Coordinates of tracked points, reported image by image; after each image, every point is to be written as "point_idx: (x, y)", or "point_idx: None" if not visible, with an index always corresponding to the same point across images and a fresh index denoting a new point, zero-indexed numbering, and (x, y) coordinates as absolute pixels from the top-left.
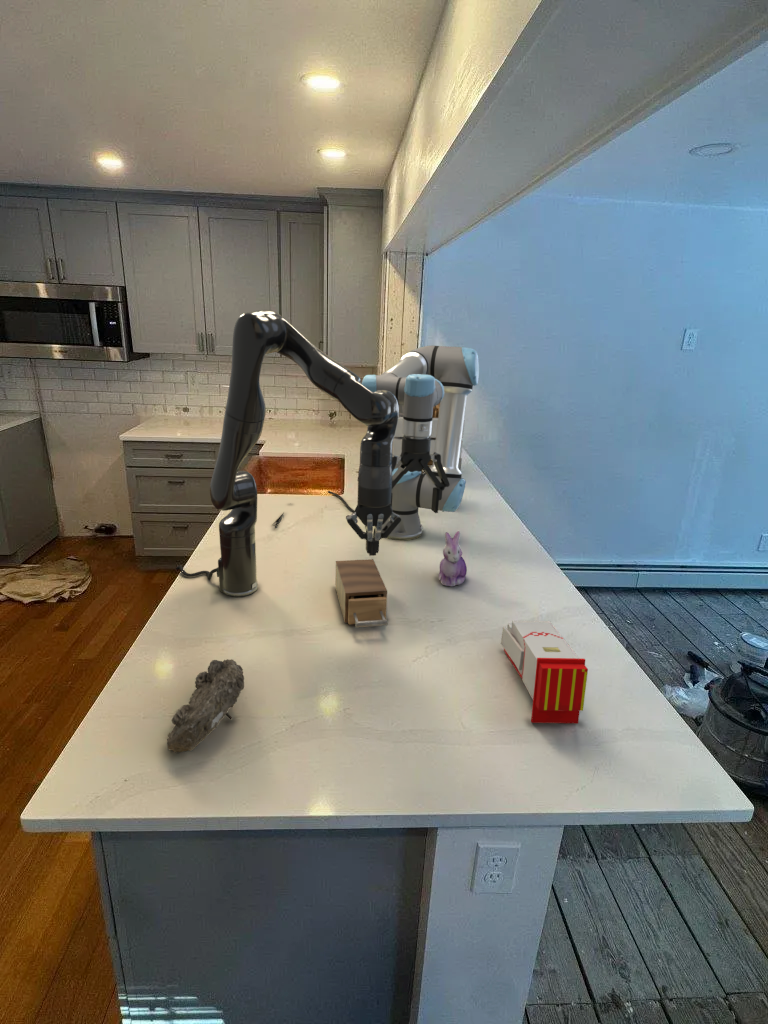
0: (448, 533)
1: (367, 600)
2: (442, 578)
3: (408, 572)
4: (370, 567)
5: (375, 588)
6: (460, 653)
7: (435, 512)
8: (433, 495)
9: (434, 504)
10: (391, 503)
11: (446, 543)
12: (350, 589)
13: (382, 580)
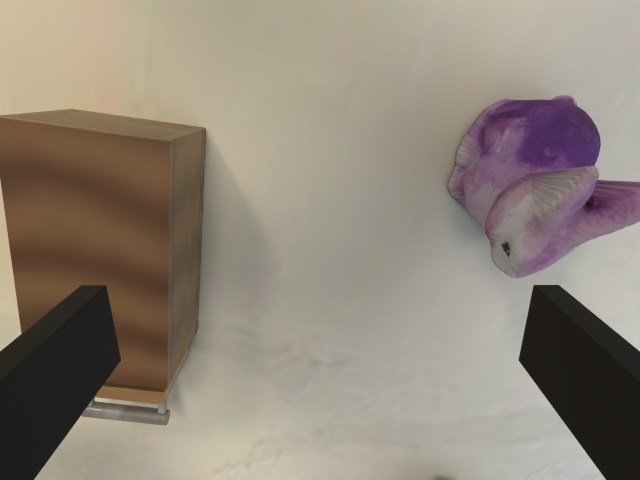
0: (589, 193)
1: (103, 397)
2: (458, 183)
3: (377, 52)
4: (141, 218)
5: (131, 368)
6: (320, 473)
7: (521, 363)
8: (633, 409)
9: (562, 380)
10: (44, 457)
11: (533, 215)
12: None
13: (167, 326)
